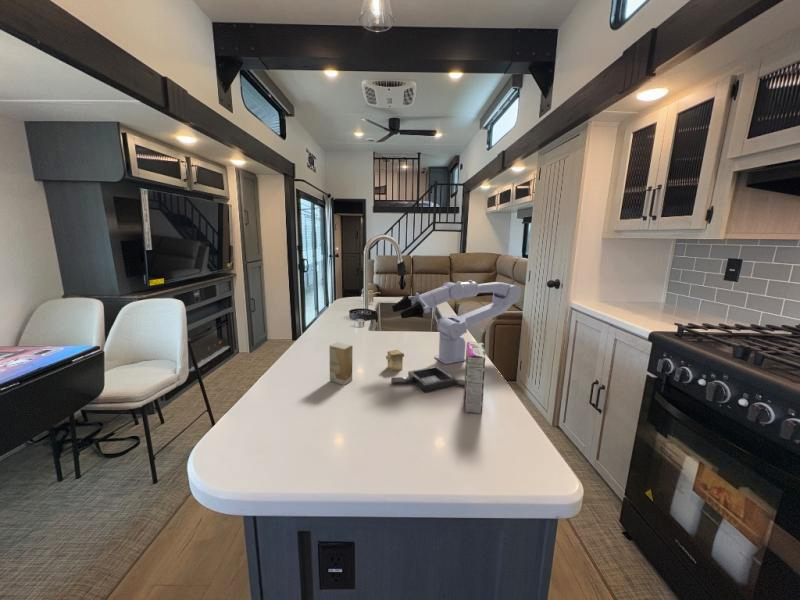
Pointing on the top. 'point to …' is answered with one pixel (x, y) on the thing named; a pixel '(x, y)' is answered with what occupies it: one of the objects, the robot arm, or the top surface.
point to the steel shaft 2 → (459, 383)
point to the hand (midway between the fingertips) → (396, 312)
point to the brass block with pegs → (395, 360)
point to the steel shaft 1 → (402, 380)
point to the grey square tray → (432, 379)
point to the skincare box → (341, 363)
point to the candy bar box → (474, 377)
